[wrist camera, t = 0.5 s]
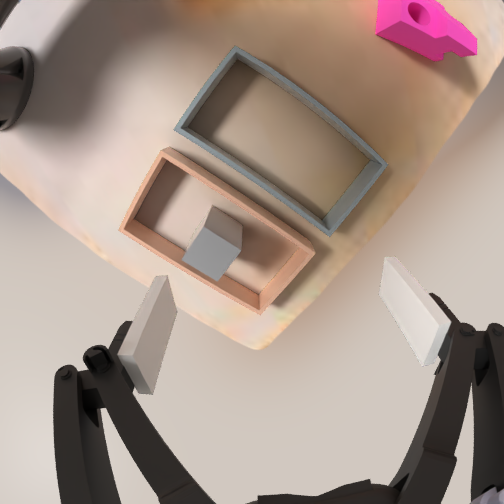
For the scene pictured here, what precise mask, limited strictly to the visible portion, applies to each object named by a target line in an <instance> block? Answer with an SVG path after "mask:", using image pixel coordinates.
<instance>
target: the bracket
mask: <svg viewBox="0 0 504 504" xmlns="http://www.w3.org/2000/svg"><path fill="white" fill-rule="evenodd" d="M375 34H376V35H378V36H381V37H383V38H386V39H388V40H391V41H393V42H395V43H397V44H400V45H402V46H404V47H406V48H408V49H411V50H413V51H415V52H417V53H419V54H421V55H423V56H425V57H427V58H429V59H430V60H432V61H439V60H443V56H444V53H445V52H451V51H452V52H454V53H455V54H457V55H459V56H460V57H465V56H473V55H477V38H476V37H475V36H474V35H473V34H472V33H471V32H470V31H469V30H468V29H467V28H466V27H465V26H464V25H463V24H462V23H460V22H459V21H457V20H456V19H454V18H453V17H452V16H451V15H449V14H448V13H447V12H446V11H445V10H444V7H443V6H442V5H441V4H440V3H439V2H437V1H435V0H378V12H377V23H376V33H375Z"/></svg>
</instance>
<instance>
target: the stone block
mask: <svg viewBox="0 0 504 504" xmlns="http://www.w3.org/2000/svg"><path fill="white" fill-rule="evenodd" d="M242 230H243V225H242V224H240V223H239V222H237V221H236V220H234V219H233V218H231V217H229V216H228V215H226V214H225V213H223V212H222V211H220V210H219V209H217V208H216V207H214V206H213V205H212V206H211V208H210V209H209V211H208V212H207V213H206V215H205V216H204V218H203V219H202V221H201V222H200V224H199V225H198V227H197V228H196V230H195V231H194V233H193V235H192V237H191V239H190V242H189V244H188V246H187V248H186V251H185V253H184V255H183V257H182V261H184V262H186V263H187V264H189V265H191V266H192V267H194V268H196V269H197V270H199V271H201V272H202V273H204V274H206V275H207V276H209V277H211V278H212V279H214V280H216V281H217V282H218V280H219V279H220V278H221V277H222V275H223V274H224V273H225V271H226V270H227V269H228V267H229V266H230V265H231V264H232V262H233V261H234V260H235V258H236V257H237V256H238V254H239V253H240V252H241V251H242Z"/></svg>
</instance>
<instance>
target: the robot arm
mask: <svg viewBox="0 0 504 504" xmlns="http://www.w3.org/2000/svg"><path fill="white" fill-rule="evenodd" d="M20 1H21V0H0V30H1V28H2V26H3V25H4V23H5V21H6V20H7V18H8V17H9V15H10V14H11V12H12V11H13V9H14V8H15V6H16V5H17V3H20ZM33 77H34V66H33V60H32V57H31V55H30V53H29V52H28V51H27V50H26V49H24V48H21V47H14V46H12V47H6V48H3V49H0V130H3V129H6V128H8V127H9V126H11V125H12V124H13V123H14V122H15V121H16V120H17V119H18V118H19V116H20V115H21V113H22V112H23V110H24V108H25V106H26V104H27V101H28V99H29V96H30V93H31V89H32V84H33ZM379 296H380V297H381V299H382V300H383V302H384V303H385V305H386V307H387V308H388V310H389V311H390V313H391V315H392V316H393V318H394V319H395V321H396V323H397V324H398V326H399V328H400V329H401V331H402V333H403V334H404V336H405V338H406V339H407V341H408V343H409V345H410V346H411V348H412V350H413V352H414V353H415V355H416V357H417V359H418V360H419V362H420V364H421V366H422V367H423V366H427V365H430V364H433V363H434V362H435V360H436V358H437V355H438V356H439V358H440V359H441V361H440V363H439V365H438V367H437V369H436V371H435V375H436V376H435V380H434V383H433V386H432V390H431V393H430V396H429V399H428V402H427V405H426V408H425V410H424V413H423V416H422V419H421V421H420V424H419V426H418V429H417V431H416V434H415V436H414V438H413V441H412V443H411V445H410V448H409V450H408V453H407V454H406V457H405V459H404V461H403V463H402V465H401V467H400V469H399V471H398V472H397V474H396V476H395V477H394V478H393V480H392V481H391V483H390V484H389V486H387V485H381V484H371V481H370V479H368V480H364V481H360V482H355V483H351V484H346V485H343V486H341V487H338V488H336V489H334V490H332V491H329V492H326V493H324V494H321V495H319V496H301V495H292V494H278V495H263V496H258V500H257V501H253V502H250V503H247V504H441V501H442V499H443V497H444V494H445V492H446V490H447V487H448V485H449V482H450V479H451V477H452V474H453V471H454V468H455V465H456V462H457V458H456V457H455V456H454V453H455V449H456V446H457V443H458V439H459V436H460V432H461V429H462V424H463V421H464V416H465V412H466V408H467V403H468V398H469V392H470V387H471V382H472V394H473V410H474V453H473V454H474V455H473V470H472V480H471V503H470V504H504V327H503V326H502V325H500V324H497V323H491V324H489V326H488V328H487V330H486V331H476V330H475V328H474V327H473V326H471V325H470V324H467V323H460V322H459V320H458V319H457V318H456V317H455V315H454V314H453V313H452V312H451V310H450V309H448V307H447V306H446V304H444V302H443V301H442V300H441V298H440V297H438V296H436V295H435V294H433V293H429V294H428V293H427V292H426V290H425V289H424V288H423V287H422V286H421V285H420V283H419V282H418V281H417V280H416V279H415V278H414V276H413V275H412V274H411V273H410V272H409V271H408V270H407V269H406V268H405V266H404V265H403V264H402V263H401V262H400V261H399V260H398V259H397V258H396V257H395V256H390V257H384V265H383V272H382V278H381V285H380V290H379ZM176 315H177V309H176V305H175V302H174V298H173V294H172V291H171V287H170V283H169V279H168V275H165V276H156V277H155V278H154V280H153V282H152V284H151V286H150V288H149V290H148V292H147V294H146V296H145V298H144V300H143V302H142V304H141V306H140V308H139V310H138V312H137V314H136V316H135V318H134V320H133V321H125V322H124V323H123V324H122V325H121V326H120V327H119V329H118V331H117V333H116V335H115V337H114V339H113V341H112V343H111V345H110V347H109V349H107V348H106V346H103V345H96V346H93V347H91V348H89V349H88V350H87V351H86V352H85V353H84V355H83V361H84V363H85V365H86V366H87V368H88V369H89V370H84V371H77V369H76V368H75V367H74V366H73V365H65V366H63V367H61V368H60V369H58V371H57V372H56V374H55V379H54V405H53V419H54V420H53V423H54V448H55V461H56V471H57V479H58V487H59V493H60V499H61V504H121V501H120V498H119V494H118V491H117V488H116V484H115V480H114V476H113V472H112V468H111V464H110V460H109V455H108V450H107V445H106V440H105V435H104V429H103V423H102V417H101V410H100V408H106V409H107V411H108V413H109V415H110V417H111V419H112V421H113V423H114V425H115V427H116V429H117V431H118V433H119V435H120V437H121V439H122V440H123V442H124V444H125V446H126V448H127V449H128V451H129V453H130V454H131V456H132V458H133V460H134V461H135V463H136V464H137V466H138V468H139V469H140V471H141V472H142V474H143V475H144V477H145V479H146V480H147V482H148V483H149V484H150V486H151V487H152V489H153V490H154V492H155V493H156V494H157V496H158V499H159V502H160V504H216V503H215V502H214V501H213V500H212V499H211V498H210V497H209V496H208V495H207V493H206V492H205V491H204V490H203V489H202V488H201V487H200V486H199V484H198V483H197V482H196V481H195V480H194V479H193V478H192V476H191V475H190V474H189V473H188V471H187V470H186V469H185V468H184V467H183V465H182V464H181V463H180V462H179V460H178V459H177V458H176V456H175V455H174V454H173V452H172V451H171V450H170V449H169V447H168V446H167V445H166V443H165V442H164V441H163V439H162V437H161V436H160V435H159V433H158V432H157V430H156V429H155V427H154V426H153V424H152V423H151V422H150V420H149V418H148V417H147V416H146V414H145V412H144V411H143V409H142V408H141V406H140V404H139V403H138V401H137V400H136V398H135V397H134V395H133V389H134V387H135V388H136V390H137V391H138V393H140V394H152V395H153V392H154V389H155V385H156V382H157V378H158V375H159V371H160V367H161V364H162V360H163V357H164V354H165V350H166V347H167V344H168V340H169V337H170V334H171V331H172V328H173V325H174V321H175V318H176Z"/></svg>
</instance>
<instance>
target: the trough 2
mask: <svg viewBox="0 0 504 504" xmlns="http://www.w3.org/2000/svg"><path fill="white" fill-rule="evenodd" d="M166 160H168V161H170V162H171V163H173V164H175V165H176V166H178V167H179V168H181V169H182V170H184V171H186V172H187V173H189V174H190V175H192V176H193V177H195V178H197V179H198V180H200V181H201V182H203V183H204V184H206V185H207V186H209V187H210V188H212V189H214V190H215V191H217V192H218V193H220V194H221V195H223V196H224V197H226V198H227V199H229V200H230V201H232V202H233V203H235V204H236V205H238V206H239V207H241V208H242V209H244V210H245V211H247V212H248V213H250V214H251V215H253V216H254V217H256V218H257V219H259V220H260V221H262V222H263V223H265V224H266V225H268V226H269V227H271V228H272V229H274V230H275V231H277V232H278V233H279V234H281V235H282V236H284V237H285V238H287V239H288V240H290V241H291V242H293V243H294V244H296V245H297V246H298V247H299V248H298V250H297V251H296V252H295V253H294V254H293V255H292V257H291V258H290V259H289V260H288V261H287V263H286V264H285V265H284V266H283V267H282V268H281V270H280V271H279V272H278V273H277V274H276V275H275V277H274V278H273V279H272V280H271V281H270V282H269V283H268V285H267V286H266V287H265V288H264V289H263V290H262V291H261V293H260V294H259V295H258V294H256V293H254V292H253V291H251V290H249V289H247V288H246V287H244V286H242V285H241V284H239V283H237V282H236V281H234V280H232V279H230V278H229V277H227V276H225V275H224V274H223V275H222V277H221V278H220V279H219V280H218V282H217V281H216V280H214V279H212V278H211V277H209V276H207V275H206V274H204V273H202V272H201V271H199V270H197V269H196V268H194V267H192V266H191V265H189V264H187V263H186V262H184V261H182V257H183V255H184V253H185V251H184V250H183V249H181V248H179V247H178V246H176V245H174V244H173V243H171V242H170V241H168V240H166V239H165V238H163V237H162V236H160V235H159V234H157V233H155V232H154V231H152V230H151V229H149V228H147V227H146V226H144V225H143V224H141V223H140V222H138V221H136V220H135V219H134V218H135V216H136V214H137V212H138V210H139V208H140V206H141V204H142V202H143V201H144V199H145V197H146V195H147V193H148V191H149V190H150V188H151V186H152V184H153V182H154V181H155V179H156V177H157V176H158V174H159V172H160V170H161V169H162V167H163V165H164V164H165V162H166ZM119 231H120V232H122V233H123V234H125V235H126V236H128V237H129V238H131V239H132V240H134V241H136V242H137V243H139V244H140V245H142V246H143V247H145V248H147V249H148V250H150V251H151V252H153V253H155V254H156V255H158V256H159V257H161V258H163V259H164V260H166V261H168V262H169V263H171V264H173V265H174V266H176V267H177V268H179V269H181V270H182V271H184V272H186V273H187V274H189V275H191V276H193V277H194V278H196V279H198V280H199V281H201V282H203V283H204V284H206V285H208V286H210V287H211V288H213V289H215V290H216V291H218V292H220V293H222V294H223V295H225V296H227V297H229V298H230V299H232V300H234V301H236V302H238V303H239V304H241V305H243V306H245V307H246V308H248V309H250V310H252V311H254V312H256V313H257V314H259V315H261V314H262V313H263V312H264V311H265V309H266V308H267V307H268V306H269V305H270V304H271V303H272V302H273V301H274V300H275V299H276V298H277V296H278V295H279V294H280V293H281V292H282V291H283V290H284V289H285V288H286V286H287V285H288V284H289V283H290V282H291V281H292V280H293V279H294V278H295V276H296V275H297V274H298V273H299V272H300V271H301V270H302V268H303V267H304V266H305V265H306V264H307V263H308V262H309V260H310V259H311V258H312V257H313V256H314V255H315V254H316V253H315V250H314V248H313V246H312V244H311V242H310V241H309V240H308V239H307V238H305V237H304V236H302V235H301V234H300V233H298V232H297V231H295V230H294V229H293V228H291V227H290V226H288V225H287V224H285V223H284V222H283V221H281V220H280V219H278V218H277V217H275V216H274V215H273V214H271V213H270V212H268V211H267V210H265V209H264V208H262V207H261V206H259V205H258V204H257V203H255V202H254V201H252V200H251V199H249V198H248V197H246V196H245V195H243V194H242V193H240V192H239V191H237V190H236V189H234V188H233V187H231V186H230V185H228V184H227V183H225V182H224V181H222V180H221V179H219V178H218V177H216V176H215V175H213V174H211V173H210V172H208V171H207V170H205V169H204V168H202V167H201V166H199V165H198V164H196V163H194V162H193V161H191V160H190V159H188V158H187V157H185V156H183V155H182V154H180V153H179V152H177V151H175V150H174V149H172V148H171V147H168V148H165V149H162V150H161V151H160V152H159V154H158V156H157V157H156V159H155V161H154V163H153V164H152V166H151V168H150V170H149V171H148V173H147V175H146V177H145V179H144V180H143V182H142V184H141V186H140V188H139V190H138V191H137V193H136V195H135V197H134V199H133V201H132V203H131V205H130V207H129V209H128V211H127V213H126V215H125V217H124V219H123V221H122V223H121V225H120V227H119Z"/></svg>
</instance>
